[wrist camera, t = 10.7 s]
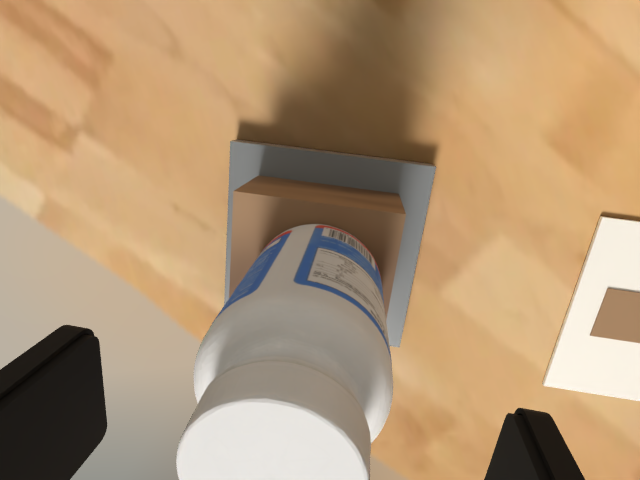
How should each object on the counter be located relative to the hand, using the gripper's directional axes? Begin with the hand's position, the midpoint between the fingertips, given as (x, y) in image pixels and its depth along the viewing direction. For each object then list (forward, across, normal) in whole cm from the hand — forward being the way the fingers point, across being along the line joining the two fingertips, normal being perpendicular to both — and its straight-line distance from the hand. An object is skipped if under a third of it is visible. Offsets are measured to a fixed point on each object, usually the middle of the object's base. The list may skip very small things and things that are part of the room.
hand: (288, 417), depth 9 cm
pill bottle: (+9, 0, +1) cm, 9 cm away
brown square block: (+12, +1, +1) cm, 12 cm away
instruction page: (+14, -16, +2) cm, 22 cm away
